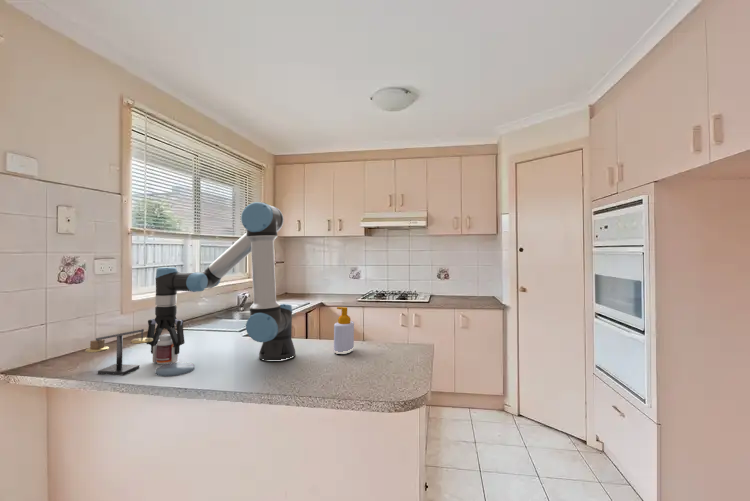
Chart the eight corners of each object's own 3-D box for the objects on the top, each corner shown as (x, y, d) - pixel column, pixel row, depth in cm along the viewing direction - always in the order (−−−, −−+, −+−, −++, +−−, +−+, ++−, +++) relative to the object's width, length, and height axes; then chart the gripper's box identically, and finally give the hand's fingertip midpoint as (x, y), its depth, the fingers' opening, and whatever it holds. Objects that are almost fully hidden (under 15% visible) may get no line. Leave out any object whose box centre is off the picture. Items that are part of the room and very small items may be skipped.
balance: (157, 368, 142) (158, 327, 142) (142, 375, 134) (143, 331, 134) (97, 366, 143) (97, 325, 143) (79, 373, 135) (79, 329, 135)
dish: (201, 365, 146) (201, 362, 146) (181, 377, 133) (181, 373, 133) (169, 364, 147) (169, 361, 147) (147, 375, 134) (147, 372, 134)
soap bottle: (341, 347, 177) (341, 305, 177) (357, 349, 175) (357, 306, 175) (329, 354, 165) (330, 309, 165) (346, 356, 162) (347, 310, 162)
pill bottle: (174, 363, 149) (175, 336, 149) (156, 365, 145) (157, 337, 145) (173, 359, 154) (173, 333, 154) (155, 361, 151) (156, 334, 151)
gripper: (195, 304, 153) (194, 360, 153) (148, 303, 154) (147, 358, 154) (184, 307, 145) (183, 365, 145) (135, 306, 147) (134, 363, 147)
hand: (165, 361), depth 150 cm, fingers open, 7 cm apart
